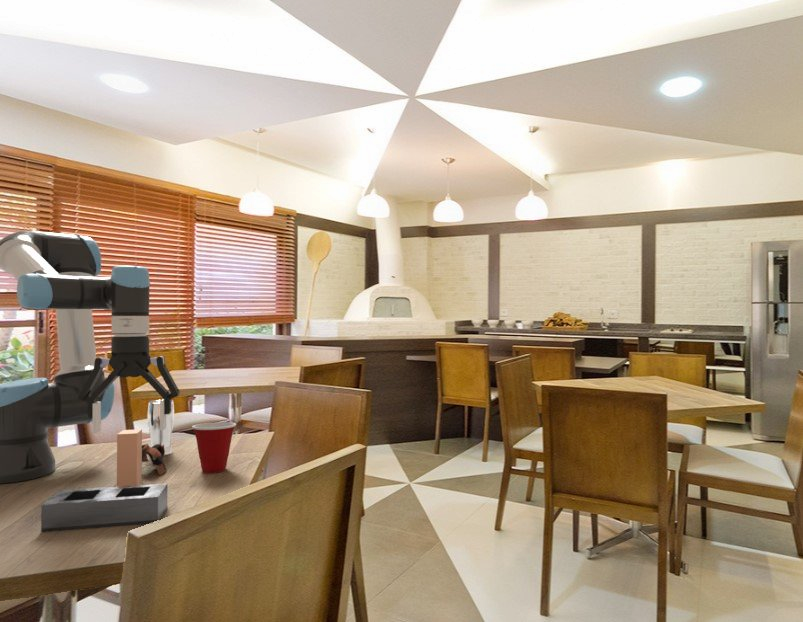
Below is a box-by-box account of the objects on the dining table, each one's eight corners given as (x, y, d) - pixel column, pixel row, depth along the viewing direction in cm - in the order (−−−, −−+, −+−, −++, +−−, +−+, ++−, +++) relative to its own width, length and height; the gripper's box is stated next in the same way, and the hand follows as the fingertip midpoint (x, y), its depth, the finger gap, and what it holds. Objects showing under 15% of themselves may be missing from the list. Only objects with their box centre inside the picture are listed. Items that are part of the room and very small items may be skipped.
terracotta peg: (116, 498, 112) (117, 434, 112) (122, 491, 116) (122, 430, 116) (136, 496, 113) (137, 433, 113) (141, 490, 117) (142, 429, 117)
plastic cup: (236, 462, 139) (237, 418, 139) (235, 474, 129) (235, 426, 129) (194, 465, 136) (194, 420, 136) (188, 477, 126) (189, 429, 126)
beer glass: (141, 455, 145) (142, 402, 145) (159, 449, 152) (160, 398, 152) (161, 457, 143) (162, 404, 143) (179, 451, 149) (179, 400, 150)
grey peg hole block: (41, 532, 94) (41, 504, 94) (59, 515, 102) (60, 490, 102) (158, 522, 99) (158, 496, 99) (167, 507, 107) (167, 483, 107)
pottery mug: (158, 481, 125) (139, 454, 123) (127, 496, 126) (108, 469, 125) (181, 455, 136) (164, 430, 135) (153, 469, 138) (135, 444, 136)
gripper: (60, 336, 108) (60, 437, 108) (186, 335, 113) (186, 431, 113) (75, 335, 115) (74, 429, 115) (192, 334, 121) (192, 424, 120)
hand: (130, 430), depth 114 cm, fingers open, 13 cm apart
